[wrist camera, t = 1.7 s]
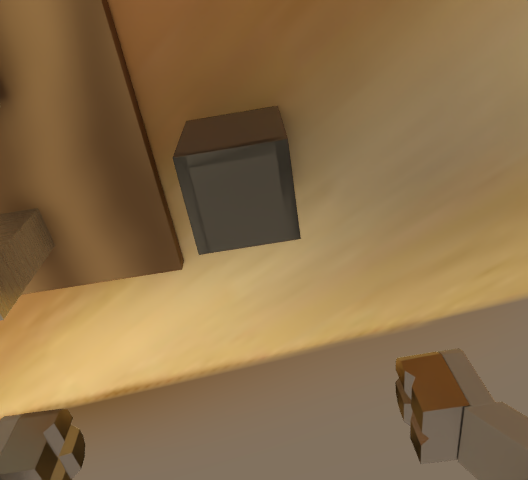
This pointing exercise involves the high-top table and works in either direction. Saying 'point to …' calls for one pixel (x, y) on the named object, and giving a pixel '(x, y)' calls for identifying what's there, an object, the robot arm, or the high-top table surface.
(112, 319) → the high-top table surface
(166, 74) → the high-top table surface
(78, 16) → the walnut board
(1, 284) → the steel post
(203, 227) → the dark grey paneled cube
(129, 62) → the high-top table surface
